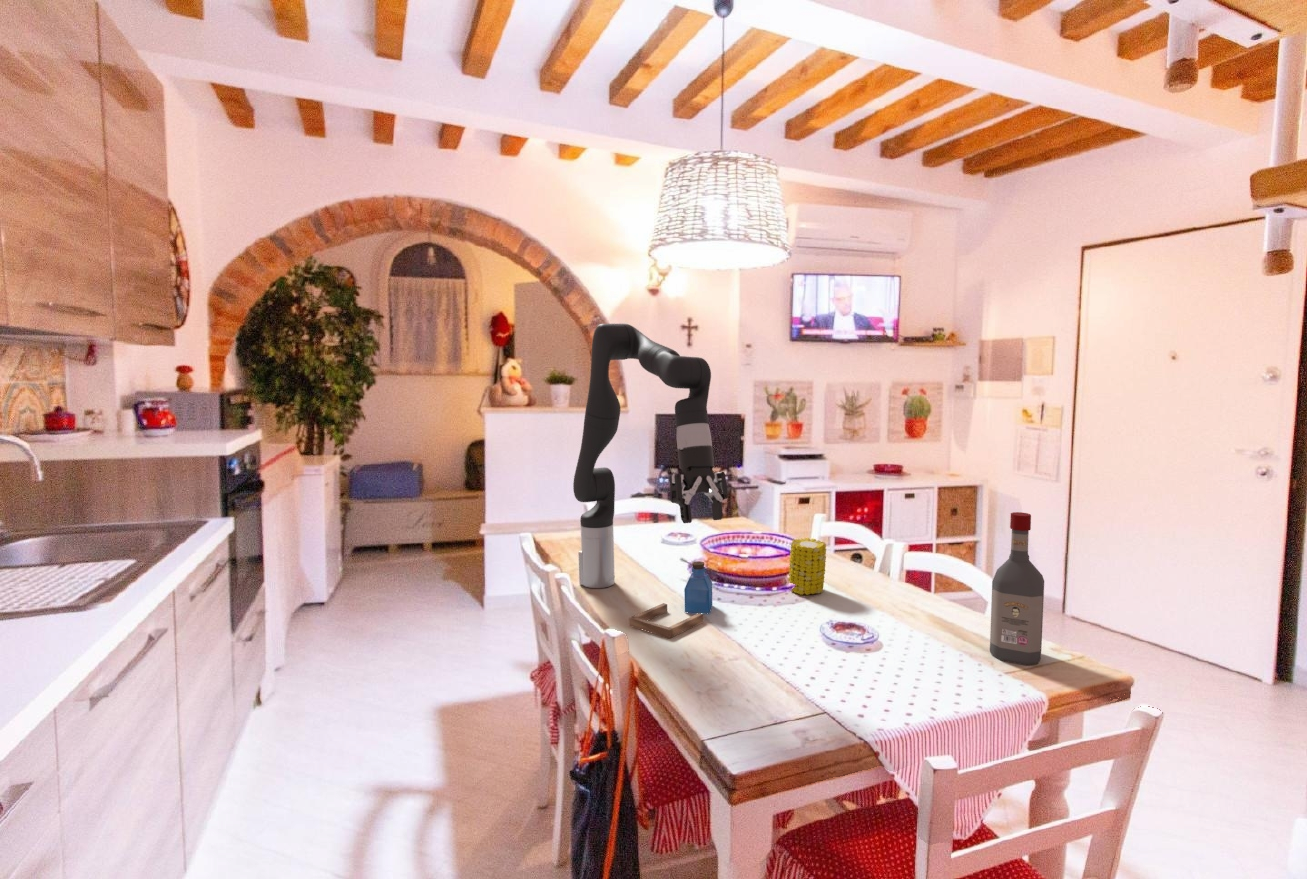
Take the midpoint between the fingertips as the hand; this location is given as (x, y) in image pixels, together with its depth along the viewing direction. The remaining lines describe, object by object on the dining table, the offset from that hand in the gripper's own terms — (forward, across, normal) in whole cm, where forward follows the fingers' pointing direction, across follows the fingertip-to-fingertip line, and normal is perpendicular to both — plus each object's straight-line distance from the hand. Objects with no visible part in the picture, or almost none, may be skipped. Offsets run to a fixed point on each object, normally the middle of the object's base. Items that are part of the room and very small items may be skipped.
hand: (702, 521), depth 145 cm
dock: (+23, -4, -22) cm, 33 cm away
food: (+22, -48, -16) cm, 56 cm away
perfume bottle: (+22, -17, -25) cm, 38 cm away
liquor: (+34, -50, +37) cm, 71 cm away
